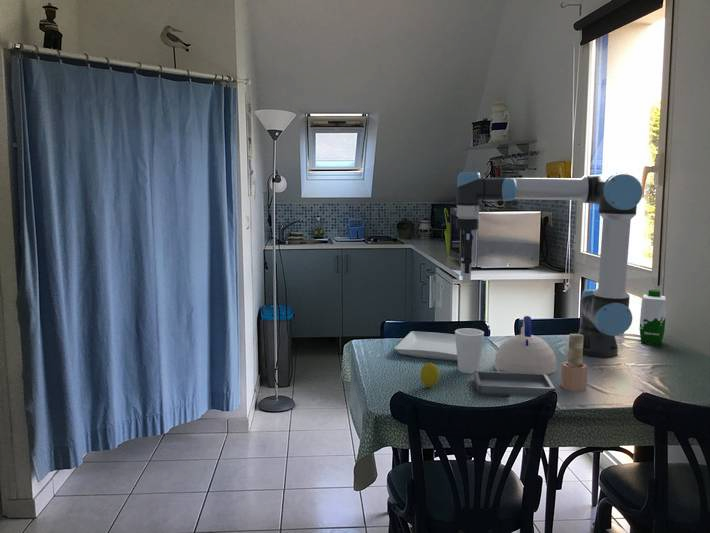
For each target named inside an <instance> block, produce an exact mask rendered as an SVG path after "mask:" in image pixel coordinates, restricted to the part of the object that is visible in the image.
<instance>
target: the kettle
mask: <svg viewBox="0 0 710 533" xmlns="http://www.w3.org/2000/svg"><path fill="white" fill-rule="evenodd" d="M522 319H523V320H522V327H520V334H517V335H513V336H511V337H509V338H507V339H506V340H504V341H503V342H502V344H501V345H500V346H498V349H497V351H496V353H495V359H494V365H493V368H494V369H495V370H496V372H501V371H502V372H518V373H544V374H547V375H550V374H553V373H554V372H556V371H557V357H556V355H555V353H554V350H553V349H552V348H551V347H550V345H549V344H548V343H547V342H546V341H545V340H543V338H541V337H538V336H536V335H534V334H532V318H531V316H529V315H525V316H523V318H522Z"/></svg>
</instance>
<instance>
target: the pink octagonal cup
mask: <svg viewBox="0 0 710 533" xmlns="http://www.w3.org/2000/svg"><path fill="white" fill-rule="evenodd" d="M588 367H589V366H588V365H587V364H586V363H583V362H582V367H572V366H568V360H566V361H564V362H561V370H560V371H561V372H560V386H561V388H562V389H564V390H567V391H571V392H583V391H585V390H587V386H588V385H587V382H588Z"/></svg>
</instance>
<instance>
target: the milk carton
mask: <svg viewBox="0 0 710 533" xmlns="http://www.w3.org/2000/svg"><path fill="white" fill-rule="evenodd" d="M642 295H643V296H642V299H641V303H640V306H641V307H640V315H639V316H640V318H639V334H640V335H639V336H640V344H641V345H643V344H644V345H653V346H662V345H663V344H662V342H663V338H664V335H665V328H666V316H667V299H666V296H665V295H661V291H660V290H658V289H649V290H648V294H642Z"/></svg>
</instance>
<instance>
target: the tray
mask: <svg viewBox="0 0 710 533" xmlns="http://www.w3.org/2000/svg"><path fill="white" fill-rule="evenodd" d="M473 382H474V386H475V390H476V394H477V396H484V397H508V398H511V395H510V394H512V395H529V396H530V395H533V396H535V395H536V396H543V395H542V394H544V393H546V392H548V391H555V392H556V387H555V386H554V384H553V382H552V381H551V379H550V378H549V376H548V374H544V373H518V372H506V371H500V372H499V371H491V370H490V371H489V370H488V371H487V370H478V371H474V373H473Z"/></svg>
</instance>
